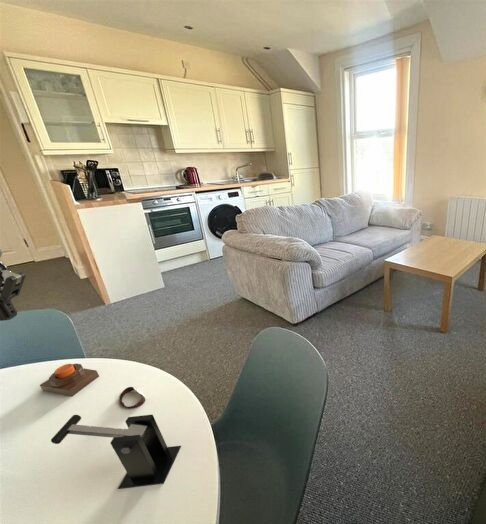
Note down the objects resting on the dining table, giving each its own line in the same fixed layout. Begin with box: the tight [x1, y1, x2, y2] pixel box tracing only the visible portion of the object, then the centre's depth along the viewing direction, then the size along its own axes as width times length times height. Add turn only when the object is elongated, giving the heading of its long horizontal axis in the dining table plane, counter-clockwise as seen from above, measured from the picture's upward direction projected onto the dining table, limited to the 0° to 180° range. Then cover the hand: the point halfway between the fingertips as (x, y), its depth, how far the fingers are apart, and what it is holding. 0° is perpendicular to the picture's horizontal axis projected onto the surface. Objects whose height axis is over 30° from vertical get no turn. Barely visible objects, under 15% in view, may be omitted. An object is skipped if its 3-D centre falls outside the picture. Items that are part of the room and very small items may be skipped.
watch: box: [118, 386, 146, 410], centre depth 70 cm, size 8×5×4 cm, turn 58°
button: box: [53, 363, 75, 379], centre depth 75 cm, size 4×4×2 cm
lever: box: [50, 414, 147, 445], centre depth 51 cm, size 13×4×2 cm, turn 96°
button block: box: [39, 363, 100, 397], centre depth 76 cm, size 10×7×4 cm
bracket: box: [110, 414, 182, 490], centre depth 53 cm, size 8×7×12 cm
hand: (8, 318), depth 58 cm, fingers closed
